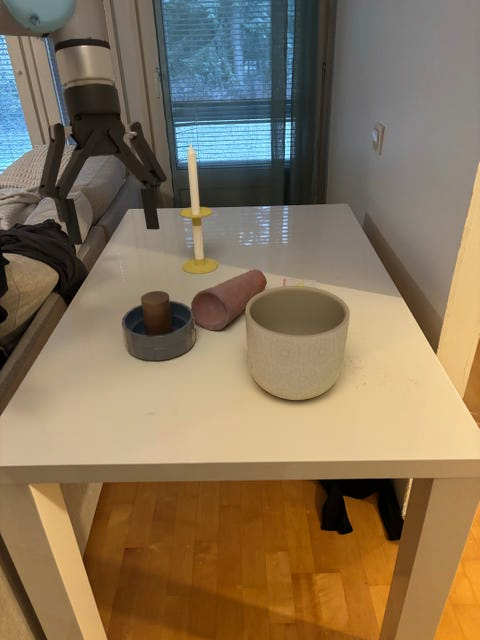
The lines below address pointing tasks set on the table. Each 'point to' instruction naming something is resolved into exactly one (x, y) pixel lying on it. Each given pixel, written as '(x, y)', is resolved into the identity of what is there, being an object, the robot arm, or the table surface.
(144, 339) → the bowl
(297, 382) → the planter
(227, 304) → the pink vase
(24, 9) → the robot arm
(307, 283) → the tea bag
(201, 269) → the candle
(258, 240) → the table surface
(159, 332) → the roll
